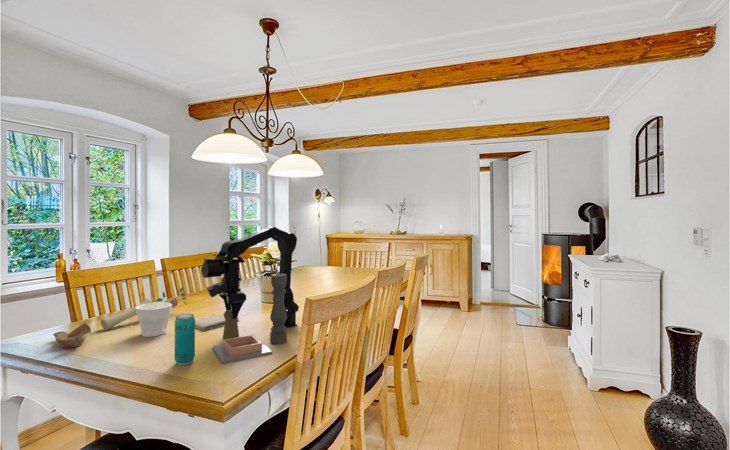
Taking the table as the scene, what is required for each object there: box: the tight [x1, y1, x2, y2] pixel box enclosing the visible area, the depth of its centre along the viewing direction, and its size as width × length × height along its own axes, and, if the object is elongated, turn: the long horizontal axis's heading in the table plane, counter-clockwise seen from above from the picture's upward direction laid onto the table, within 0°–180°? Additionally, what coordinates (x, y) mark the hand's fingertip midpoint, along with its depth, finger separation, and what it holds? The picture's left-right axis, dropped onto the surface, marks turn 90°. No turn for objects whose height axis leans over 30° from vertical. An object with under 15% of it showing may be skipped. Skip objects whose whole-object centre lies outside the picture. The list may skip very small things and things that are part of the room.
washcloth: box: [195, 312, 240, 332], centre depth 159 cm, size 12×18×3 cm, turn 146°
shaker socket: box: [212, 334, 273, 364], centre depth 128 cm, size 16×16×3 cm
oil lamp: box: [52, 321, 92, 349], centre depth 131 cm, size 9×21×10 cm, turn 60°
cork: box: [222, 310, 240, 340], centre depth 140 cm, size 6×6×11 cm
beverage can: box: [174, 313, 196, 366], centre depth 117 cm, size 6×6×15 cm
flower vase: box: [100, 286, 188, 331], centre depth 164 cm, size 12×12×35 cm
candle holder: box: [269, 273, 288, 345], centre depth 138 cm, size 6×6×25 cm
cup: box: [136, 301, 173, 338], centre depth 145 cm, size 12×12×11 cm
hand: (231, 315), depth 140 cm, fingers open, 9 cm apart
